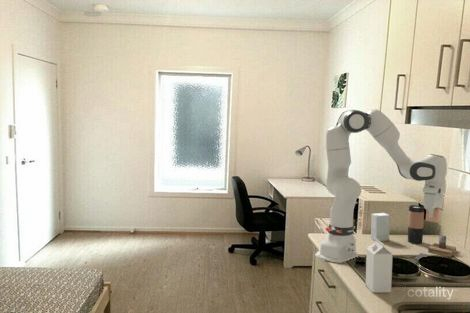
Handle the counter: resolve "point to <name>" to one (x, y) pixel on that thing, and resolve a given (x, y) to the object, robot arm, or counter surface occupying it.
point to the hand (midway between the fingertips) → (432, 216)
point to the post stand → (442, 247)
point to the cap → (436, 215)
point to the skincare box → (380, 226)
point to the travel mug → (415, 224)
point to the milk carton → (378, 268)
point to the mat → (421, 256)
